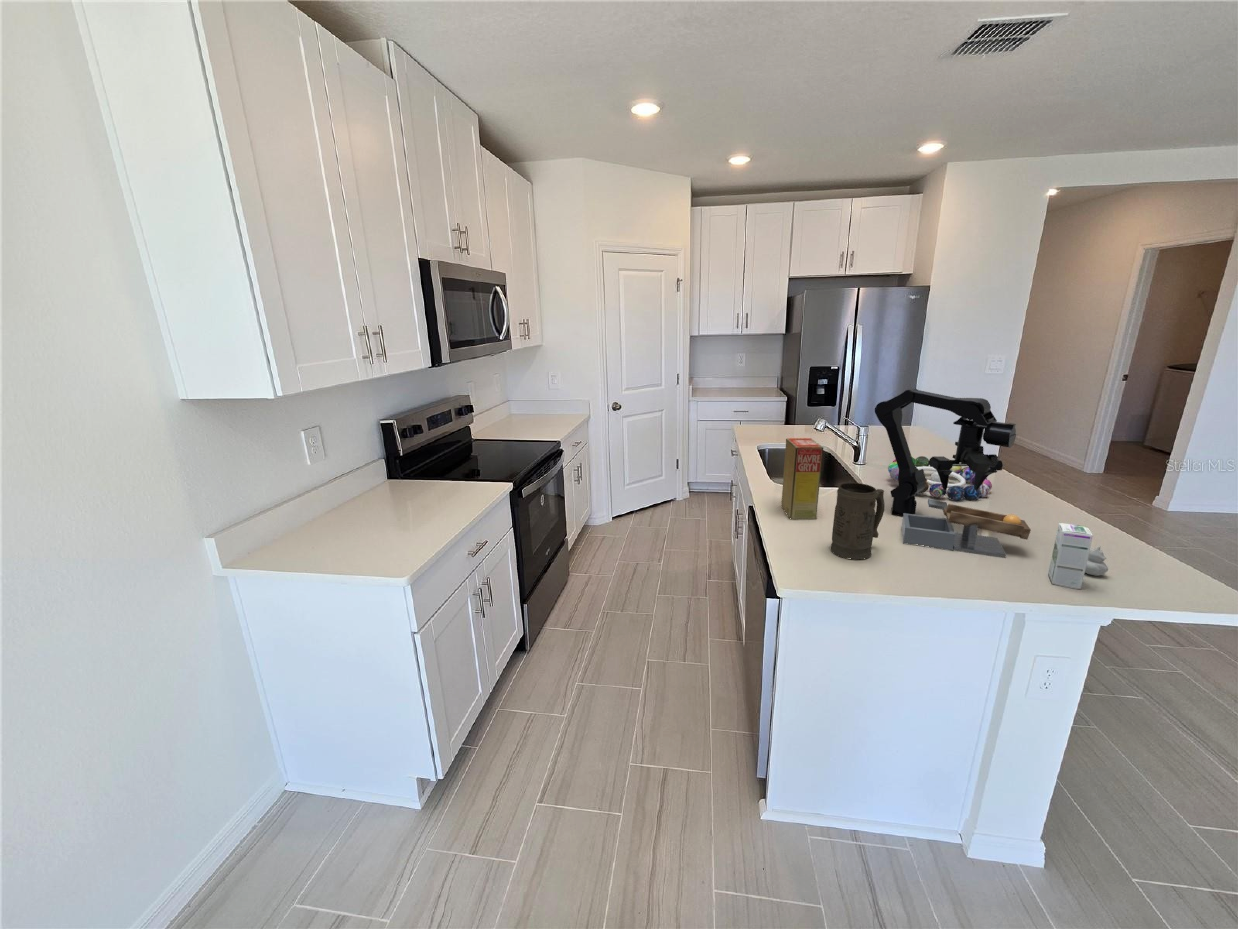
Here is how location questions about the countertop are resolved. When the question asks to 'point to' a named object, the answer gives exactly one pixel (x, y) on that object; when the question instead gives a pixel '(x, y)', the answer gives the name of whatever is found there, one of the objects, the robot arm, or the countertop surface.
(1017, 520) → the ball
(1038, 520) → the countertop surface
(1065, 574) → the syrup box
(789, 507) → the food packaging
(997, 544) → the lever stand
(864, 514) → the beer stein
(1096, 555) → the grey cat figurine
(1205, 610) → the countertop surface
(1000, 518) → the tipping lever
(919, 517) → the grey open tray
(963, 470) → the decorated egg ring holder
